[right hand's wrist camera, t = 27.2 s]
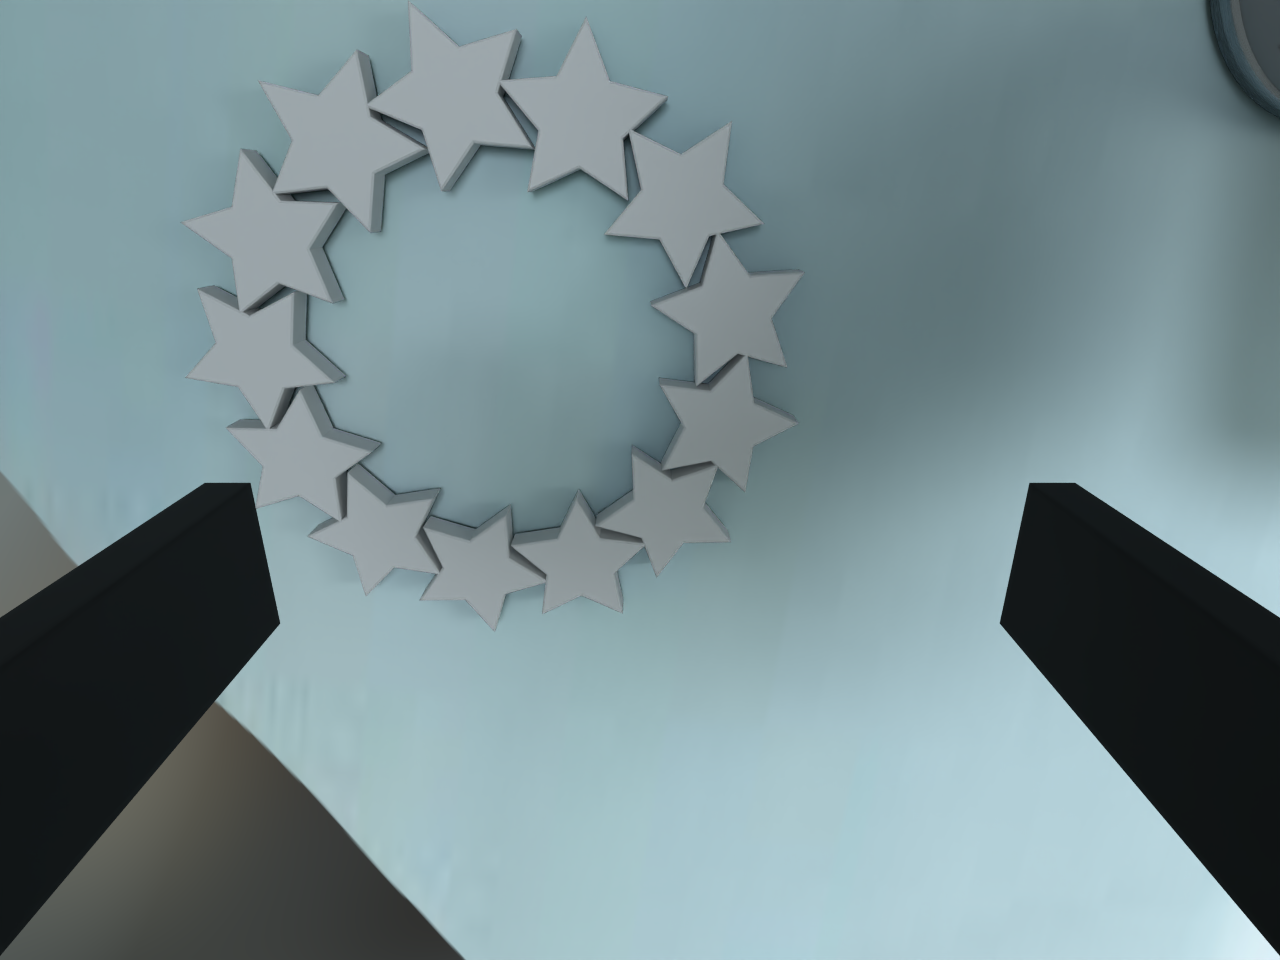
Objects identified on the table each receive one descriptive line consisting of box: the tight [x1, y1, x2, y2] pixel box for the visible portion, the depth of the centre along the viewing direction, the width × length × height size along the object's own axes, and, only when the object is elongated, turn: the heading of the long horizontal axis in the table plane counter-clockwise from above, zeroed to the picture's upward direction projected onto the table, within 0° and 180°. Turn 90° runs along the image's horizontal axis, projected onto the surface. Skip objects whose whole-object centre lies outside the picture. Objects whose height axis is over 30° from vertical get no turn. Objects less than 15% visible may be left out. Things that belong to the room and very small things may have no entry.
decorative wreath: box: [181, 1, 805, 631], centre depth 35 cm, size 30×2×30 cm
